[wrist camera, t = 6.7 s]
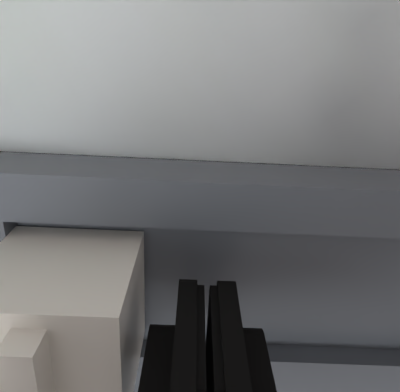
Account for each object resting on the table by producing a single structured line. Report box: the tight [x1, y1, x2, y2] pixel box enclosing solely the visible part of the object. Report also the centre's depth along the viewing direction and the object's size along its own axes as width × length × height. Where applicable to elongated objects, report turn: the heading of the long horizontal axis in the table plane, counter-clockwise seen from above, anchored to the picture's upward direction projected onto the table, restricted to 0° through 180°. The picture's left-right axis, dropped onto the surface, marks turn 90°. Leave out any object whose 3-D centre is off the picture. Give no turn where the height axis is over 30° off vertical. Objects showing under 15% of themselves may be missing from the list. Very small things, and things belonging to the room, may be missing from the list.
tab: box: [0, 226, 145, 392], centre depth 10 cm, size 4×4×5 cm
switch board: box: [0, 152, 400, 392], centre depth 15 cm, size 20×16×2 cm
